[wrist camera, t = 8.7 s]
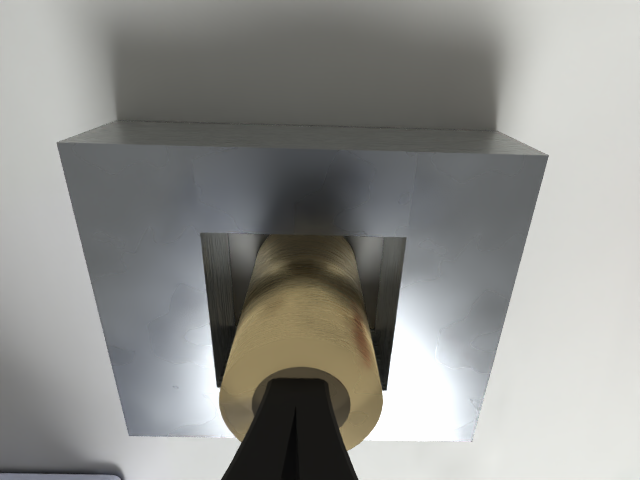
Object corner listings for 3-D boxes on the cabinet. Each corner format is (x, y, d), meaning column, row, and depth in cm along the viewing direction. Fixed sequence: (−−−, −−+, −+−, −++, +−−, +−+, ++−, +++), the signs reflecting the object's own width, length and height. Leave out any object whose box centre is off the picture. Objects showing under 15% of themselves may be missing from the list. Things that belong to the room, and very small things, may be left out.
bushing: (261, 312, 17) (230, 465, 11) (250, 224, 16) (205, 344, 9) (356, 307, 17) (382, 459, 11) (355, 219, 16) (385, 336, 9)
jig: (161, 369, 19) (128, 435, 15) (116, 120, 14) (56, 142, 11) (446, 374, 19) (471, 441, 16) (497, 130, 14) (548, 155, 11)
